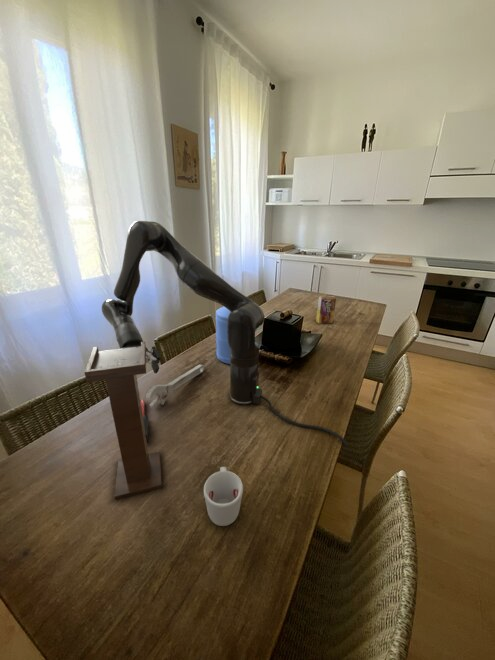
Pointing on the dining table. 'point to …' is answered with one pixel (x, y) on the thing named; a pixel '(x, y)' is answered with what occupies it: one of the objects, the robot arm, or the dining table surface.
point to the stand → (127, 417)
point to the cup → (223, 496)
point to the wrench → (171, 386)
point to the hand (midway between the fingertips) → (143, 373)
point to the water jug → (222, 335)
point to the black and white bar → (144, 419)
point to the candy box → (326, 309)
